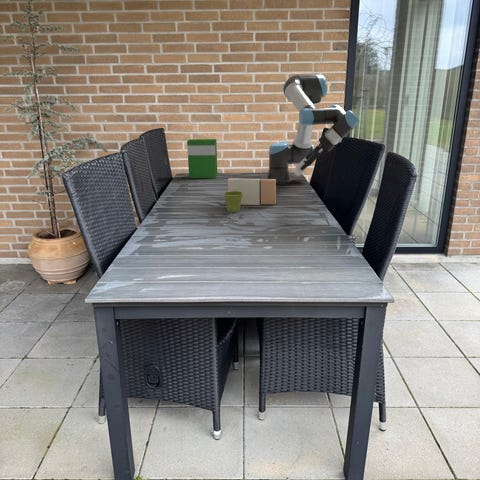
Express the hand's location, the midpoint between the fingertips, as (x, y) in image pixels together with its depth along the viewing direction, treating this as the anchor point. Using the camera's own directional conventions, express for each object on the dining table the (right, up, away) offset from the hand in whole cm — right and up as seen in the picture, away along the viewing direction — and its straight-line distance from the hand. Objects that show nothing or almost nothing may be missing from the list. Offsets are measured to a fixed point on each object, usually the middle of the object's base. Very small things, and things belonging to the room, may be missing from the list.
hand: (296, 171), depth 216 cm
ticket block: (-25, -15, +11) cm, 31 cm away
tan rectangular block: (-13, -15, +8) cm, 22 cm away
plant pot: (-30, -19, -2) cm, 36 cm away
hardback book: (-51, +8, +76) cm, 92 cm away
